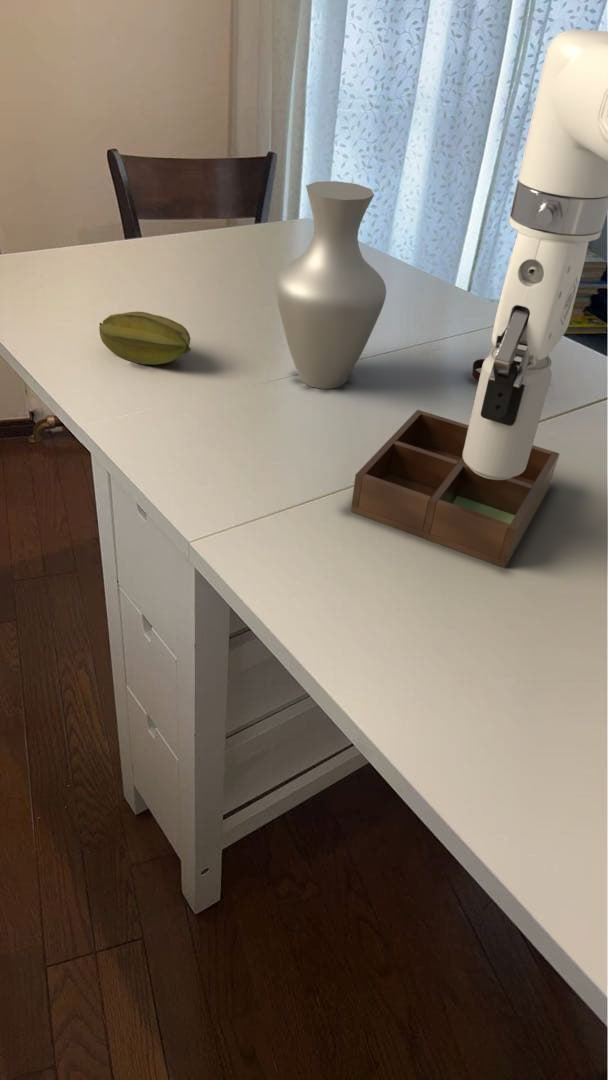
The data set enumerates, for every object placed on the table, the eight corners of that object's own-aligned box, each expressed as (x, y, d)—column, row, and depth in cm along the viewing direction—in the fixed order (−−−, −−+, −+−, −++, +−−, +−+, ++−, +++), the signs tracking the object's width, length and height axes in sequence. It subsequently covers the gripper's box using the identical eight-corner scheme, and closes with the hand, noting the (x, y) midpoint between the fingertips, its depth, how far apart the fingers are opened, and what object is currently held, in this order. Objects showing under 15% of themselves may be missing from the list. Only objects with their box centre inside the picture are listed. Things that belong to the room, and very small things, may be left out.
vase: (395, 385, 111) (424, 196, 96) (318, 413, 103) (337, 212, 88) (325, 348, 120) (342, 169, 104) (249, 371, 112) (256, 181, 96)
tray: (548, 488, 93) (559, 453, 90) (504, 568, 81) (516, 530, 78) (411, 443, 99) (417, 409, 96) (350, 511, 86) (355, 474, 84)
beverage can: (452, 471, 79) (476, 358, 72) (472, 443, 84) (497, 335, 76) (514, 491, 77) (546, 377, 70) (531, 461, 82) (563, 352, 74)
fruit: (177, 339, 118) (176, 295, 114) (193, 375, 109) (193, 329, 105) (98, 344, 115) (94, 299, 111) (109, 382, 106) (104, 335, 102)
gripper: (580, 246, 58) (521, 457, 69) (624, 197, 70) (568, 382, 81) (481, 224, 60) (439, 431, 71) (541, 181, 73) (498, 363, 84)
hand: (509, 403), depth 76 cm, fingers closed on beverage can, 6 cm apart
